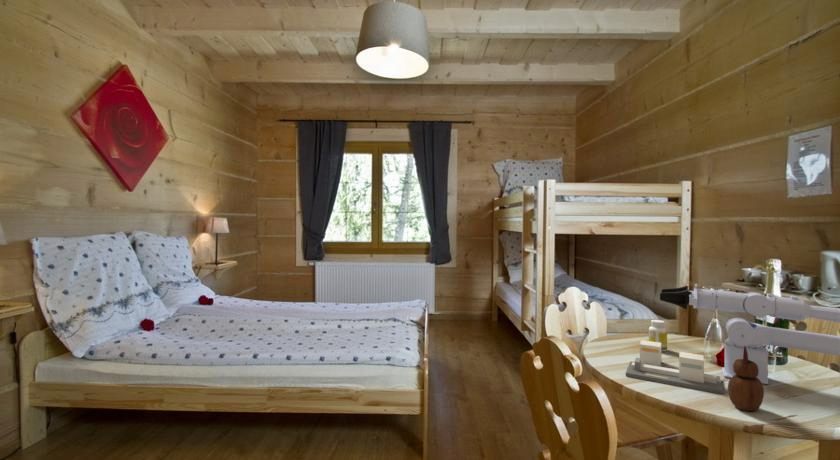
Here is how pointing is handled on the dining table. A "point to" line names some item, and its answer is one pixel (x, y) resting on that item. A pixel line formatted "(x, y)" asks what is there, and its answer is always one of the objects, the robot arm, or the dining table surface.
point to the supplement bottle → (658, 333)
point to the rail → (678, 373)
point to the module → (650, 352)
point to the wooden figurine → (745, 385)
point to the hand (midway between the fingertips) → (660, 294)
